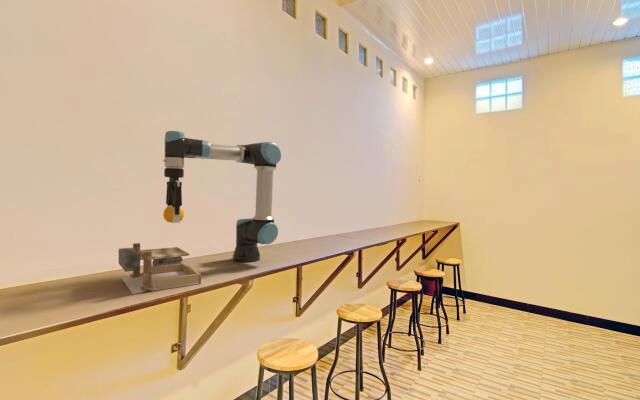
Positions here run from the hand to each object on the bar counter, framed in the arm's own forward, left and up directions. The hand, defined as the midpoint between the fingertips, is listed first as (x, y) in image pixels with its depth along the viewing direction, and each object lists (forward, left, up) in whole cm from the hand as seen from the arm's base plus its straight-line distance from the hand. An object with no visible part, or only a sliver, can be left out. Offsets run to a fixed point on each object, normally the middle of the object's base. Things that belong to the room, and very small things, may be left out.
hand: (173, 221), depth 143 cm
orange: (0, 0, -1) cm, 1 cm away
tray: (+5, 0, -25) cm, 26 cm away
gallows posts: (+12, 0, -25) cm, 28 cm away
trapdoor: (+7, 0, -17) cm, 19 cm away
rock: (-3, -21, -25) cm, 33 cm away
